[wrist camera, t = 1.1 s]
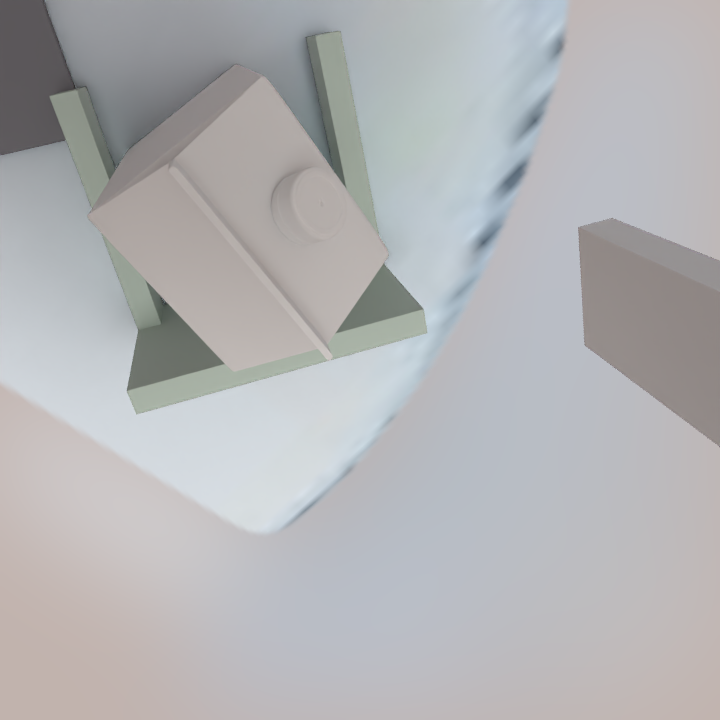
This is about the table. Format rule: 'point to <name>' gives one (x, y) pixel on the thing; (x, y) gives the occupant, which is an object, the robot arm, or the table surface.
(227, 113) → the milk carton
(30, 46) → the mat
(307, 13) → the table surface
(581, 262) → the robot arm
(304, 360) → the rack
